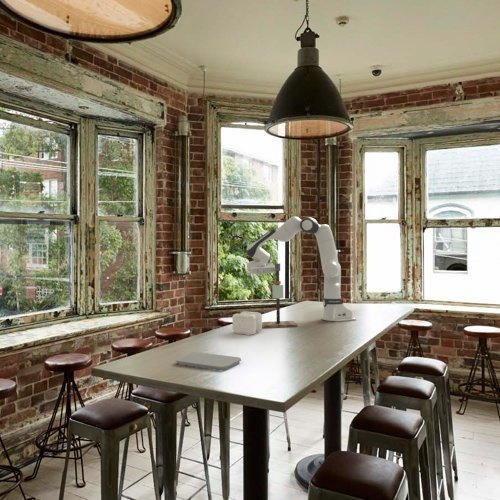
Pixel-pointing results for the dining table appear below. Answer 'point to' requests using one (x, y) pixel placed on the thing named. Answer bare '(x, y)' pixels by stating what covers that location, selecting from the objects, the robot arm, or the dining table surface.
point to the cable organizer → (247, 322)
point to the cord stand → (278, 309)
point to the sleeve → (277, 291)
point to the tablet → (209, 361)
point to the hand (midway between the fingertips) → (269, 270)
